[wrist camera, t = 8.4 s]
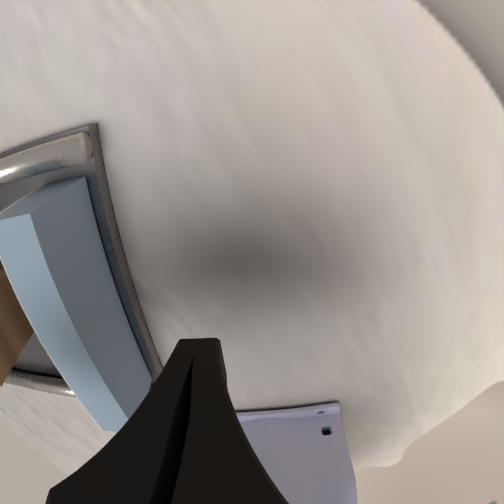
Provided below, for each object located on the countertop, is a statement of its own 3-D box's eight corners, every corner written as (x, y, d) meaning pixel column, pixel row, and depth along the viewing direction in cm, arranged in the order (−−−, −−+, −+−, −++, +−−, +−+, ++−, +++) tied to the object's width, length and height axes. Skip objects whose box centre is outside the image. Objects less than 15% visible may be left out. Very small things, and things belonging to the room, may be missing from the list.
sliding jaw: (85, 175, 11) (30, 213, 7) (151, 378, 16) (139, 434, 13) (40, 186, 11) (-17, 223, 7) (115, 376, 16) (98, 429, 13)
